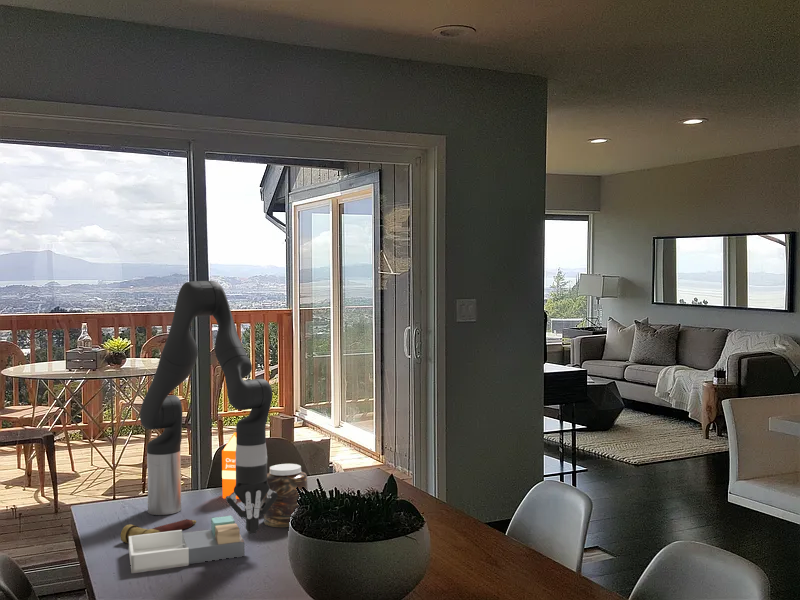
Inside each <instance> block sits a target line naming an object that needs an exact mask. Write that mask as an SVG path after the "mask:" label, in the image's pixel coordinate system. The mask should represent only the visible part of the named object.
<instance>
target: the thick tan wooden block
mask: <svg viewBox="0 0 800 600" xmlns="http://www.w3.org/2000/svg"><path fill="white" fill-rule="evenodd" d="M240 531H241V530H240V528H239V526H238V524H237V523H236V522H235V524H227V525H218V526H215V538H216V540H217V542H218V544H226V543H234V542H240V535H241V534H240V533H241V532H240Z"/></svg>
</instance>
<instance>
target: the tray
mask: <svg viewBox="0 0 800 600" xmlns="http://www.w3.org/2000/svg"><path fill="white" fill-rule="evenodd" d="M182 533H183V530H176V531H167V532H159V533H151V534H143V535H134V536H129V543H128V555H129V564H130V565H131V566H130V571H131V572H130V573H131V574H137V573H145V572H152V571H159V570H160V571H161V570H167V569H174V568H180V567H181V568H182V567H189V566H190V564H189V548H183V545H182Z"/></svg>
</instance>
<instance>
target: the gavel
mask: <svg viewBox="0 0 800 600" xmlns="http://www.w3.org/2000/svg"><path fill="white" fill-rule="evenodd" d="M196 523H197V520H195V519H194V520H193V519H187V518H185V519H182V520H179V521H174V522H170V523H167V524H163V525H159V526H156V527H152V528H149V529H148V528H143V527H139V526H137V525H135V524H130V523H129V524H126V525H125V526H124V527H123V528H122V530H121V533H120V540H121V542H123V543H124V542H125V544H129V536H134V535H143V534H151V533H159V532H167V531H176V530H182V531H184V530H187V529H190V528H192V526H194V525H196ZM189 527H190V528H189Z"/></svg>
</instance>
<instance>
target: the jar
mask: <svg viewBox="0 0 800 600" xmlns="http://www.w3.org/2000/svg"><path fill="white" fill-rule="evenodd" d="M267 482H268V485H269V489H271V490H272V491H275V492H276V493H277V494H278V497H277V498H276V500H275V501H274V502H273V504H272V505H271V507H270V508H269V510H268V511H267V512H266V514H264V515H263V523H264V525H266V526H267V525H268V527H271V528H290V527H289V522H290V517H291V514H292V513H293V512H294V510H295V509H296V508H298V507H299V505H298V504H297V502H296V501H297V499H299V494H298V492H297V490H296V488H297V487H298V488H299V489H300V490H301V491H302V492H303V490H302V487H305V488H306V489H307V490H308V487H309V486H308V475H307V473H306V472H304V471H302V466H301V465H300V464H297V463H281V464H280V463H279V464H275V465H271V466H269V472H267ZM308 491H309V490H308ZM266 499H267V494H266V495H265V497H264V498H263V503H264V502H265V500H266Z"/></svg>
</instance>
